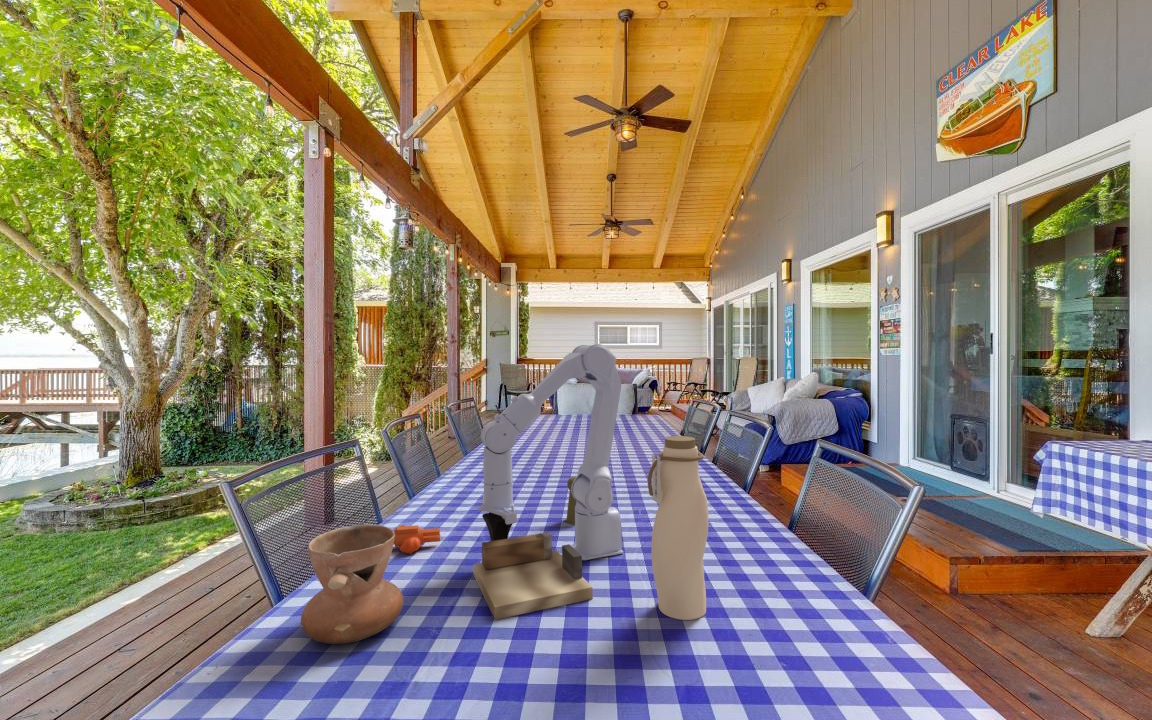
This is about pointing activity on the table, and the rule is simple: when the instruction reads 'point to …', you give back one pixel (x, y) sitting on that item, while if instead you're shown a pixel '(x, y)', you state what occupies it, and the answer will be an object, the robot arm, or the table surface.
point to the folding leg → (516, 550)
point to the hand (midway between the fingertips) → (499, 549)
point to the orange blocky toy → (414, 537)
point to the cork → (571, 504)
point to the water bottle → (679, 529)
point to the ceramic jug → (351, 585)
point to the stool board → (534, 584)
